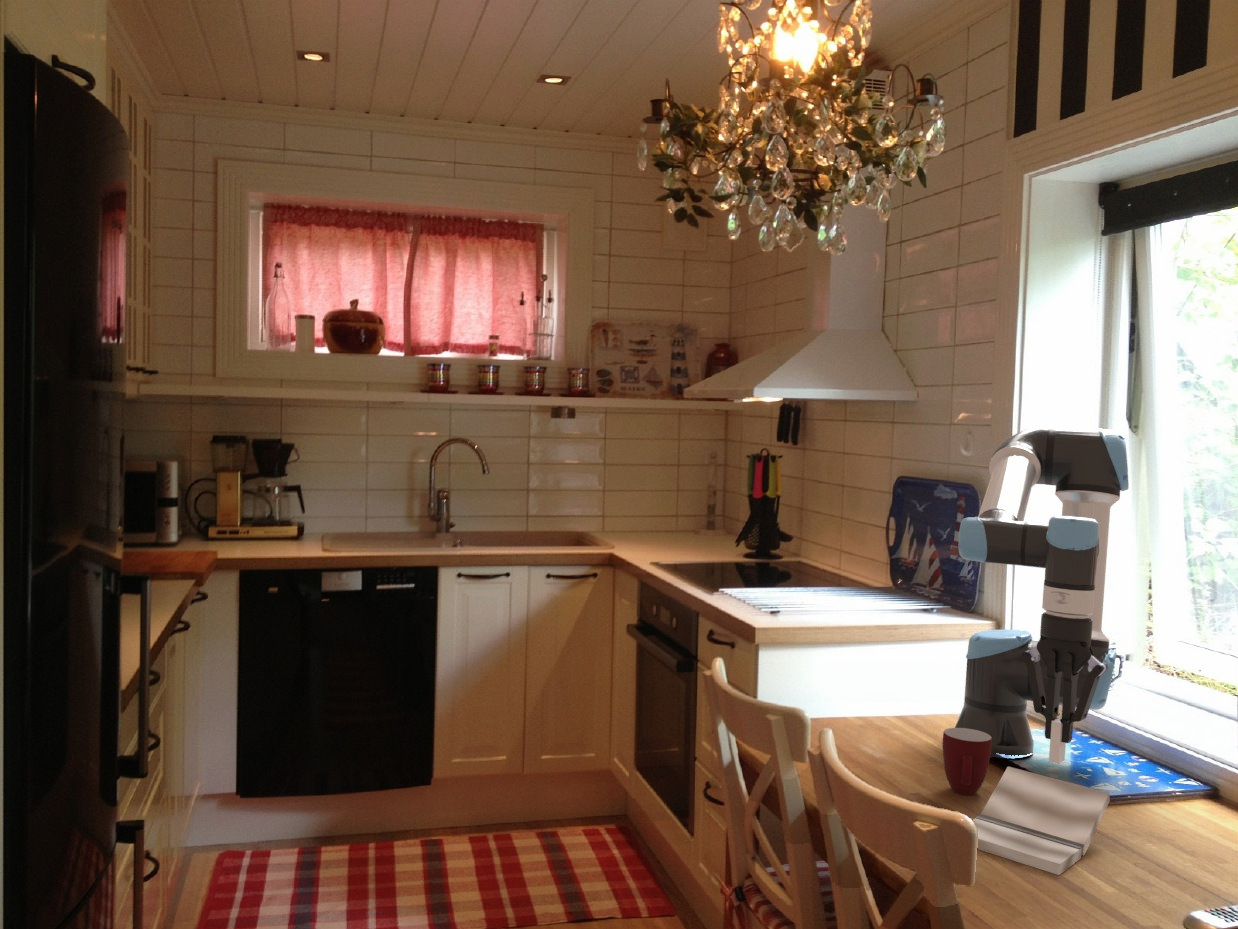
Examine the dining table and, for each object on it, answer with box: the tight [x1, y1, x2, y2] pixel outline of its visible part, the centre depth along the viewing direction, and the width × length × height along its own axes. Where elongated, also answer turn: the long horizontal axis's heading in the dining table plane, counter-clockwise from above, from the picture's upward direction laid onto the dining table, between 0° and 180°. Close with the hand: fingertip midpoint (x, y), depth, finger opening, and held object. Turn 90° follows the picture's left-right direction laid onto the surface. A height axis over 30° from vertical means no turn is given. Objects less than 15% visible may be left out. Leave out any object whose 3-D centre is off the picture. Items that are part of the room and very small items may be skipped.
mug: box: [942, 727, 992, 796], centre depth 186 cm, size 11×8×10 cm
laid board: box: [972, 815, 1082, 876], centre depth 162 cm, size 9×16×2 cm, turn 48°
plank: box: [978, 766, 1111, 857], centre depth 170 cm, size 12×16×2 cm
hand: (1056, 760), depth 172 cm, fingers closed
